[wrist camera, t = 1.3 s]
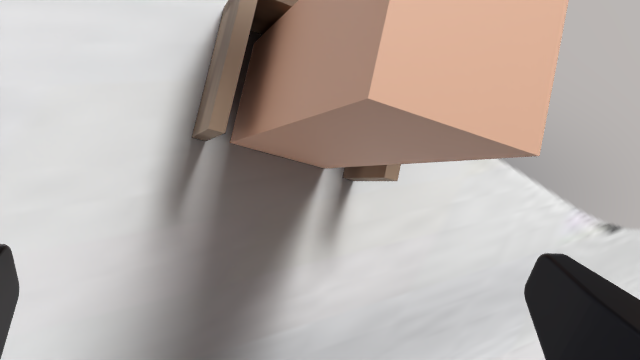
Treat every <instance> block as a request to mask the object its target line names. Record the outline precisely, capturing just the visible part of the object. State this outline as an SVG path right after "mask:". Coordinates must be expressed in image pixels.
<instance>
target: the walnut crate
mask: <svg viewBox="0 0 640 360" xmlns="http://www.w3.org/2000/svg"><path fill="white" fill-rule="evenodd" d="M297 1H298V0H228V2H227V3H226V5H225V6H224V10H223V14H222V18H221V22H220V26H219V30H218V34H217V38H216V42H215V46H214V50H213V54H212V58H211V62H210V66H209V70H208V74H207V78H206V82H205V86H204V90H203V94H202V98H201V102H200V106H199V110H198V114H197V118H196V122H195V126H194V130H193V134H192V138H196V139H199V140H203V141H208V140H210V139H212V138H215V137H217V136H220V135H222V134H225V132H226V127H227V123H228V119H229V115H230V111H231V107H232V103H233V99H234V95H235V91H236V87H237V82H238V78H239V74H240V70H241V66H242V62H243V58H244V54H245V50H246V46H247V41H248V37H249V33H250V30H252V31H254V32H257V33H260V34H264V33H265V32H266V31H267V30H268V29H269V28H270V27H271V26H272V25H273V24H274V23H275V22H276V21H278V20H279V19H280V18H281V17H282V16H283V15H284V14H285V13H286V12H287V11H288V10H289V9H290V8H291V7H292V6H293V5H294V4H295V3H296V2H297ZM400 166H401V164H393V165H376V166H359V167H345V170H344V174H343V178H345V179H349V180H352V181H397V180H398V175H399V170H400Z"/></svg>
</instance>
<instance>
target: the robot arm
mask: <svg viewBox="0 0 640 360" xmlns="http://www.w3.org/2000/svg"><path fill="white" fill-rule="evenodd" d="M524 294H525V300H526V303H527V306H528V309H529V312H530V315H531V318H532V321H533V324H534V327H535V329H536V332H537V335H538V338H539V341H540V344H541V347H542V350H543V353H544V356H545V359H546V360H640V300H639V299H637V298H636V297H634V296H632V295H631V294H629V293H628V292H626V291H624V290H623V289H621V288H619V287H618V286H616V285H614V284H613V283H611V282H609V281H608V280H606V279H605V278H603V277H601V276H600V275H598V274H596V273H595V272H593V271H591V270H590V269H588V268H586V267H585V266H583V265H581V264H580V263H578V262H577V261H575V260H573V259H572V258H570V257H568V256H567V255H564V254H549V253H546V254H542V255H541V256H540V257H539V258H538V259H537V261H536V263H535V265H534V268H533V270H532V272H531V274H530V276H529V278H528V280H527V283H526V285H525V290H524ZM18 296H19V281H18V277H17V272H16V268H15V264H14V259H13V255H12V251H11V249H10V247H9V246H7V245H5V244H0V359H1V356H2V352H3V349H4V345H5V342H6V338H7V335H8V332H9V328H10V325H11V321H12V318H13V314H14V311H15V307H16V304H17V301H18Z"/></svg>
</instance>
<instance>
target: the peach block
mask: <svg viewBox="0 0 640 360" xmlns="http://www.w3.org/2000/svg"><path fill="white" fill-rule="evenodd" d="M567 6H568V0H298V1H297V2H296V3H295V4H294V5H293V6H292V7H291V8H290V9H289V10H288V11H287V12H286V13H285V14H284V15H283V16H282V17H281V18H280V19H279V20H278V21H276V22H275V23H274V24H273V25H272V26H271V27H270V28H269V29H268V30H267V31H266V32H265V33H264V34H263V35H262V36H261V37H260V38H259V39H258V40H257V41H256V42H255V43H254V45H253V49H252V53H251V57H250V61H249V66H248V70H247V74H246V78H245V82H244V86H243V90H242V94H241V99H240V103H239V107H238V111H237V115H236V119H235V123H234V127H233V132H232V136H231V140H230V143H232V144H236V145H239V146H243V147H247V148H250V149H254V150H258V151H261V152H265V153H269V154H273V155H276V156H280V157H284V158H287V159H291V160H295V161H298V162H302V163H306V164H309V165H313V166H317V167H320V168H341V167H359V166H376V165H393V164H410V163H427V162H445V161H462V160H479V159H496V158H513V157H530V156H539V155H540V150H541V145H542V139H543V133H544V129H545V123H546V117H547V113H548V107H549V102H550V96H551V91H552V86H553V81H554V74H555V69H556V64H557V59H558V54H559V48H560V43H561V38H562V33H563V27H564V21H565V16H566V11H567Z"/></svg>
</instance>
